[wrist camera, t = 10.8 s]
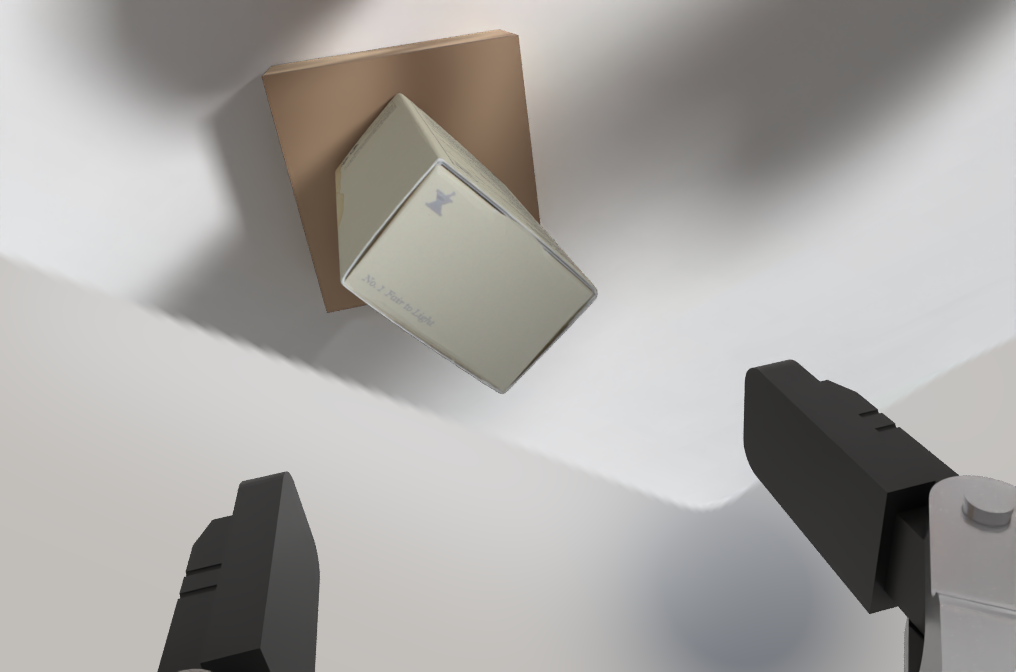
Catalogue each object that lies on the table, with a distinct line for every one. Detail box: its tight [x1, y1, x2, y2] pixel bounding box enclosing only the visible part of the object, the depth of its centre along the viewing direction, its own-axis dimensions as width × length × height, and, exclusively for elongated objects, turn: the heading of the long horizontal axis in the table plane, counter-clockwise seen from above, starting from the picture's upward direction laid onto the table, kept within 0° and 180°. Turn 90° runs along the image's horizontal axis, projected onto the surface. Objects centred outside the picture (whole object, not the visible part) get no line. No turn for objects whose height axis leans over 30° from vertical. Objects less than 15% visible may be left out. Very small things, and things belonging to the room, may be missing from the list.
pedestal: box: [262, 29, 540, 313], centre depth 32 cm, size 10×10×4 cm
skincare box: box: [335, 93, 597, 394], centre depth 25 cm, size 6×4×12 cm
